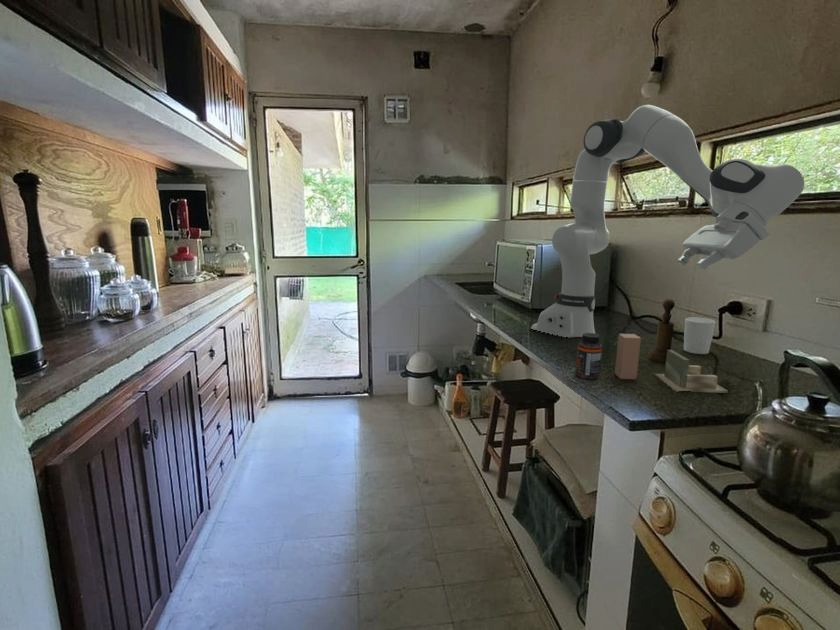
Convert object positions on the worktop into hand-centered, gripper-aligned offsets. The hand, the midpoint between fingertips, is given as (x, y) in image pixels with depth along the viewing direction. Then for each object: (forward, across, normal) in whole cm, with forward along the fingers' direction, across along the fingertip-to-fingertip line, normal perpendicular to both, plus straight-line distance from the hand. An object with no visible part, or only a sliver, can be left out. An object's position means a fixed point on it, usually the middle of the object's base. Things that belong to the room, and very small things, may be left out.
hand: (689, 265), depth 108 cm
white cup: (+8, -25, +34) cm, 43 cm away
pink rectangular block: (+30, 0, +12) cm, 32 cm away
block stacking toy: (+20, +4, +22) cm, 30 cm away
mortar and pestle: (+18, -16, +23) cm, 34 cm away
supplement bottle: (+37, +1, +5) cm, 37 cm away
